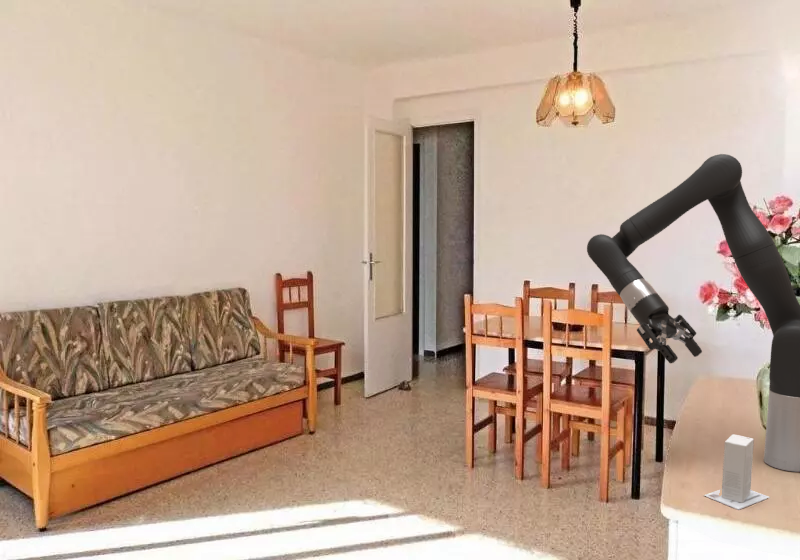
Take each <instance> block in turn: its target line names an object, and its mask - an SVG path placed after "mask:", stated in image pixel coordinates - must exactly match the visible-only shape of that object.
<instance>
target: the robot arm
mask: <svg viewBox="0 0 800 560" xmlns="http://www.w3.org/2000/svg"><path fill="white" fill-rule="evenodd" d="M742 176H743V167H742V165H741V162H740V161H739V160H738V159H737V158H736V157H734V156H732V155H730V154H723V153H720V154H715V155H712V156H710V157H709V158H706V159H705V161H703V163H702V164H701V165H700V166H699V167H698V168H697V169H696V170H695V171H694V172H693V173H692V174H691V175H690V176H688V177H687V178H686V179H685V180H684V181H683V182H681V183H680V184H678V185H677V186H675V187H674V188H673V189H672V190H670V191H668V192H667V193H666V194H664V195H663V196H660V198H658V199H657V200H655V201H653V202H652V203H650V204H648V205H647V206H645V207H644V208H642V209H640V210H639V211H638V212H636V213H634V214H633V215H632V216H630V217H628V218H627V219H626V220H625V221H623V222H622V223H621V224H620V225H619V226H620V227H619V231H618V232H616V234H615V235H613V236H612V237H611V236H609V235H607V234H602V233H600V234H596V235H594V236H592V237H591V238H590V239H589V240H588V242H587V246H586V252H587V255H588V257H589V258H590V260H592V262H593V263H594V264H595V266H596V267H597V268H598V269H599V270H600V271H601V272H602V274H603V275H604V276H605V277H606V279H607V280H608V281H609V284H611V285H610V286H612V288H613V289H614V291H615V292H616V293H617V295H618V296H619V297H620V298H621V300H622V302H623V304H624V306H626V309H628V311H629V312H630V314H631V315H632V316H633V318H634V319H635V320H636V321H637V323H638V324H639V326H638V328H636V332H637V333H638V334H639V336H640V337H641V339H642V340H643V342H644V343H645V345H646V346H647V348H648V349H649V350H651V351H653V350H656V351H657V352H660V353H661V354H662V356H663V358H664V359H665V360H666V361H667V362H668V363H669V364H675V362H676V361H677V360H678V355H677V354H676V353H675V352H674V350H673V349H672V347H671V346H670V345H669V344H667V339H673V340H674V341H680V342H681V343H683V344H684V346H685V347H686V349H687V350H688V351H689V352H690V353H691V355H692V356H693V357H698V356H699V355H701V354H702V353H703V351H702V349H701V347H700V346H699V344H698V343H697V342H696V340H695V339H694V337H696V335H697V332H696V330H695V329H694V328H693V327H692V326H691V324H690V323H689V322H688V321H687V320H686V319H685V318H684V317H683V315H682V314H678V315H677V316H676V317H672V316H671V315H670V314H669V311H670V309H669V306H668V304H667V303H666V302H665V301H664V299H662V297H661V296H660V294H658V292H657V291H656V290H655V288H654V287H653V286H652V285H651V284H650V283H649V282H648V280H646V279H645V277H644V276H643V275H642V274H641V272H640V271H639V270H638V269H637V268H636V267H635V266H634V265H633V264H632V262H630V260H629V259H628V257H629V256H630V255H632V254H633V253H634V252H635V251H636V250H637V249H638V248H639V247H640V246H641V245H642V244H644V243H646V242H647V241H649V240H651V239H652V238H654V237H655V236H657V235H658V234H659V233H662V232H663V231H664V230H666V228H668V227H670V225H672V224H673V223H674V222H675V221H677V220H678V219H679V218H681V217H682V216H683V215H685V214H686V213H687V212H689V211H690V210H692V209H693V208H695V207H697V206H698V205H700V204H702V203H703V202H705V201H708V202H709V204H710V205H711V207H712V210H713V211H714V212H715V214H716V216H717V219H718V221H719V223H720V226H721V230H722V232H723V235H724V238H725V241H726V244H727V246H728V249H729V251H730V254H731V256H732V258H733V261H734V263H735V265H736V267H737V269H738V271H739V274H740V276H741V277H742V279H743V281H744V283H745V284H746V285H747V287H748V289H749V291H751V293H752V295H753V296H754V297H755V298H756V300H757V301H758V303H759V304H760V305H761V307H762V309H763V312H764V313H765V317H766V318H767V319H766V320H767V321H768V324H769V327H770V330H771V332H772V333H771V334H772V341H771V349H770V360H769V363H770V364H769V376H768V377H769V386H768V387H769V388H768V401H767V412H766V413H767V415H766V428H765V429H766V430H765V440H764V451H763V461H764V463H765V464H767V465H768V466H770V467H772V468H775V469H779V470H783V471H787V472H788V471H789V472H796V473H797V472H800V303H799V300H798V298H797V297H796V294H795V291H794V287H793V286H792V282H791V280H790V277H789V273H788V271H787V268H786V266H785V264H784V260H783V258H782V256H781V254H780V252H779V250H778V248H777V244H775V241H774V239H773V237H772V236H771V233H769V231H768V229H766V227H765V225H764V224H763V223H762V221H761V220H760V219H759V217H758V216H757V215H756V213H755V212H754V210H753V209H752V207H751V206H750V204H749V202H748V199H747V196H746V193H745V191H744V189H743V184H742V181H741V179H742ZM650 339H651V340H650ZM651 341H652V342H651Z"/></svg>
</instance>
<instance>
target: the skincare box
mask: <svg viewBox="0 0 800 560" xmlns="http://www.w3.org/2000/svg"><path fill="white" fill-rule="evenodd" d="M754 441H755V440H754V437H753V438H752V437H748V436H743V435H739V434H733V433H732V434H731V435H730V436H729V437H728V438H727V439H726V440H725V441H724V452H723V462H722V463H723V466H722V467H723V468H722V478H721V479H722V480H721V483H722V485H721V489H722V498H725V499H729V500H733V501H737V502H740V503H743V502H744V501H745V499H746V498H747V497H748V496H749V494H750V491H751V490H752V489H751V486H752V473H753V471H752V470H753V457H754V456H753V455H754V446H755V445H754Z"/></svg>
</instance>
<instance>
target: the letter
mask: <svg viewBox="0 0 800 560" xmlns="http://www.w3.org/2000/svg"><path fill="white" fill-rule="evenodd" d="M721 489H722V488H720V489H718V490H714V491H712V492H709V493H706V494H704V495H703V497H705V496H706V498H707V497H708V499H710V498H711V499H710V500H712V499H713V501H715V502H717V503H720V504H723V505H725V506H728V507H730V508H733V509H735V510H737V511H740V510H742V509H745V508H747V507H750V506H752V505H756V504H757V503H760V502H761V503H762V502H763V501H765V500H768V499H770V498H771V497H770V496H768V495H765V494H763V493H760V492H757V491H754V490H753V489H751V491H750V494H749V496H748V497H747V498H746V499H745V501H744V502H743V503H740V502H737V501H733V500H729V499H725V498H722V495H721V496H719V493H720V490H721ZM767 498H768V499H767Z"/></svg>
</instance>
